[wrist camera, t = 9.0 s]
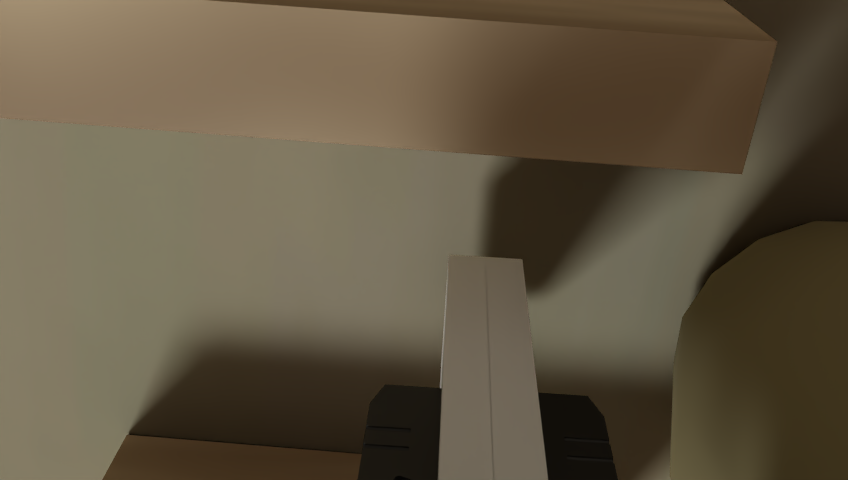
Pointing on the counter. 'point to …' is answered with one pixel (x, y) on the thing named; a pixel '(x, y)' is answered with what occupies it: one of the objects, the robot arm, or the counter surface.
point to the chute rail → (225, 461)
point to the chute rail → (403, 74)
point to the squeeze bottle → (767, 364)
